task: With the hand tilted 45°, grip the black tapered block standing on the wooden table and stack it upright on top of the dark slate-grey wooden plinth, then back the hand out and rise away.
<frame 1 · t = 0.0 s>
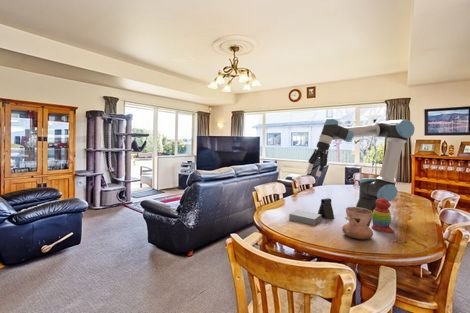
hand: (312, 174, 160), 28 cm above the table, tool tilted 20°, fingers open, 13 cm apart
plinth: (305, 219, 159), on the table
black tapered block: (325, 217, 165), on the table
stacking bear: (381, 229, 144), on the table
ceramic jug: (357, 236, 133), on the table
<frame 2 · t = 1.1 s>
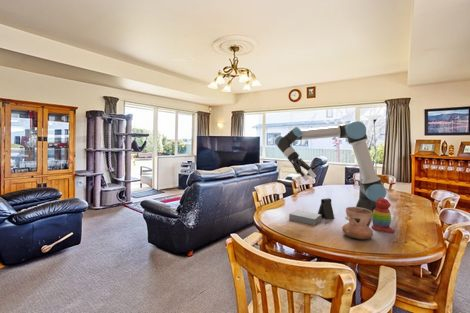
hand: (311, 178, 169), 24 cm above the table, tool tilted 45°, fingers open, 13 cm apart
nothing on the table moved.
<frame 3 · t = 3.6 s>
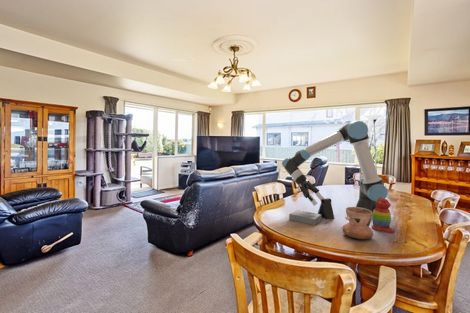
hand: (319, 202, 166), 9 cm above the table, tool tilted 45°, fingers open, 13 cm apart
nothing on the table moved.
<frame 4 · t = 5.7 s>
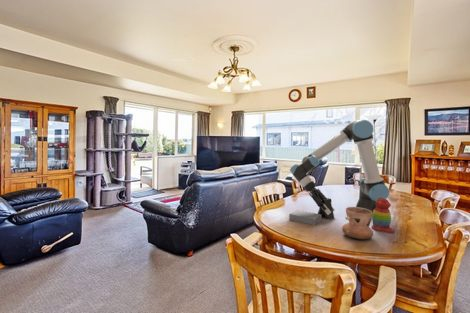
hand: (331, 212, 162), 4 cm above the table, tool tilted 45°, fingers closed on black tapered block, 7 cm apart
black tapered block: (325, 217, 165), on the table, touching gripper
everything else where it was.
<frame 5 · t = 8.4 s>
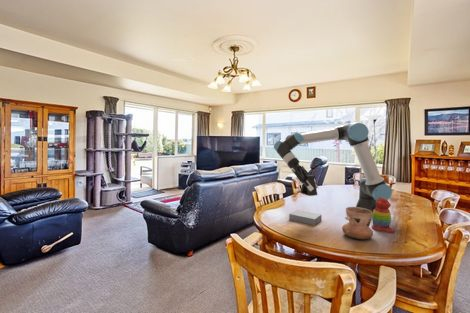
hand: (314, 189, 157), 20 cm above the table, tool tilted 45°, fingers closed on black tapered block, 7 cm apart
black tapered block: (308, 194, 159), point 16 cm above the table, touching gripper
everything else where it was.
when the fingers open (9 cm above the table, at t = 10.9 s): black tapered block drops 1 cm, resting on plinth.
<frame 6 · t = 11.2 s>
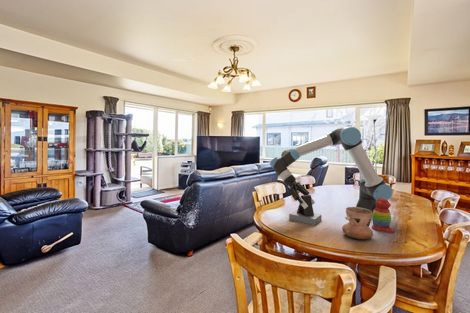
hand: (310, 205, 156), 9 cm above the table, tool tilted 45°, fingers open, 11 cm apart
black tapered block: (305, 214, 159), point 3 cm above the table, touching plinth
everything else where it was.
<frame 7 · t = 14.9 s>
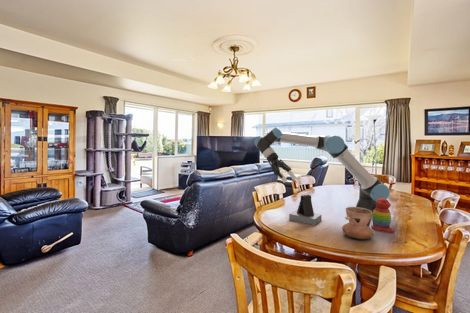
hand: (290, 180, 163), 24 cm above the table, tool tilted 45°, fingers open, 13 cm apart
nothing on the table moved.
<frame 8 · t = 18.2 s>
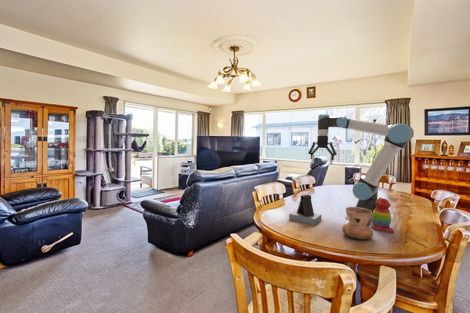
hand: (321, 164, 189), 32 cm above the table, tool pointing down, fingers open, 13 cm apart
nothing on the table moved.
at the end: black tapered block inside the target area on the plinth (0.1 cm from its centre), point 3.3 cm above the plinth's base; black tapered block tilted 0°; the gripper is holding nothing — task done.
